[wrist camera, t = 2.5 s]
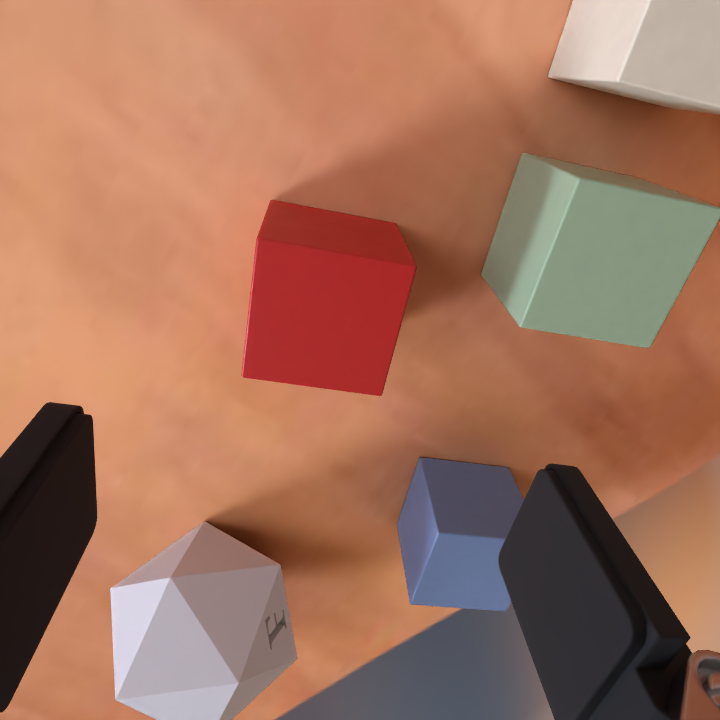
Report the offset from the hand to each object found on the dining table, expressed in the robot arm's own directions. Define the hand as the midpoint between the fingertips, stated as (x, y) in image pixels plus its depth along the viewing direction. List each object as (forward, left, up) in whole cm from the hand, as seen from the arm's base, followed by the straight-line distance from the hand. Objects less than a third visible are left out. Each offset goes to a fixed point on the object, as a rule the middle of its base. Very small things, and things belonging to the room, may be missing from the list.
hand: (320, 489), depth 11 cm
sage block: (-4, +9, -12) cm, 16 cm away
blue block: (+11, +9, -12) cm, 19 cm away
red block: (0, 0, -12) cm, 12 cm away
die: (+18, -3, -12) cm, 22 cm away
